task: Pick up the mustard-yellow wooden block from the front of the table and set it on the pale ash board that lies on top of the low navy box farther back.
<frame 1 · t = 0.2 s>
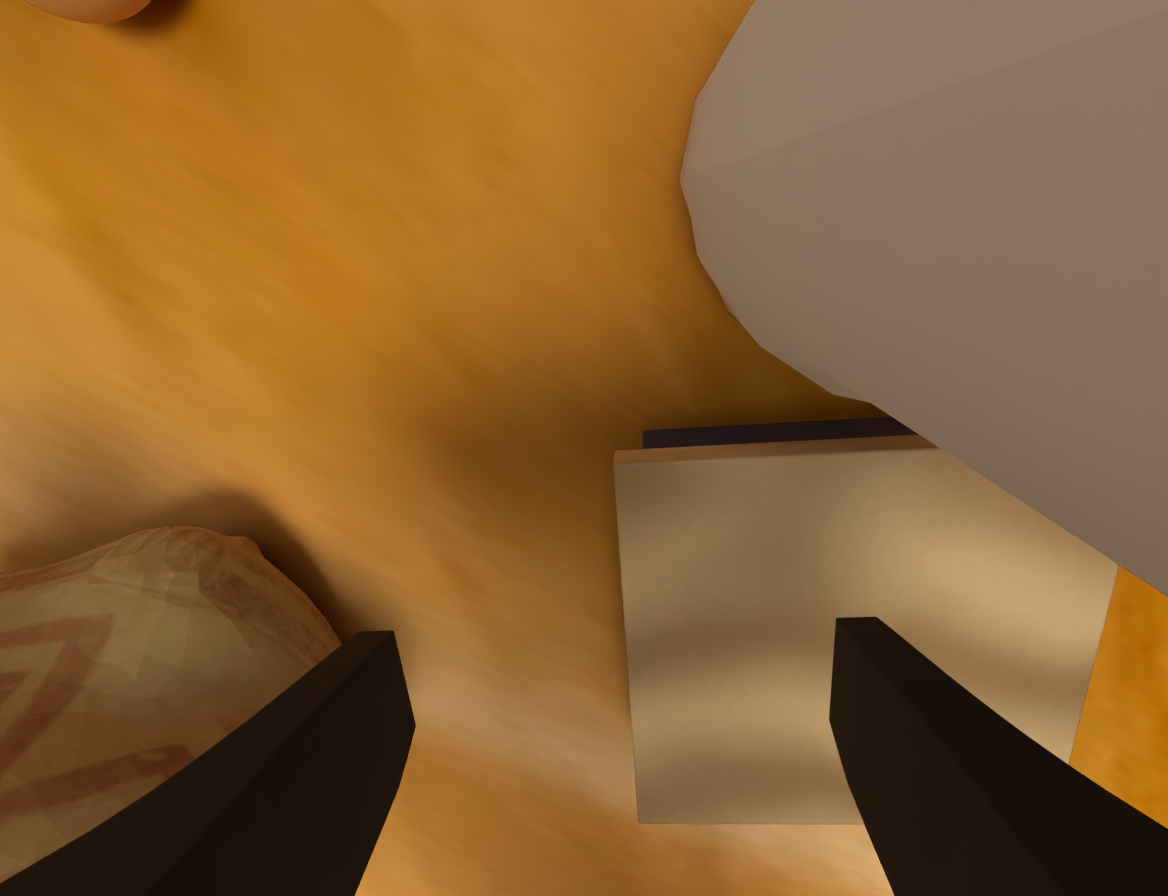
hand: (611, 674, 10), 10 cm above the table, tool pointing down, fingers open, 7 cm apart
ceramic vessel: (210, 676, 24), on the table
box: (808, 570, 21), on the table
bottle: (846, 176, 17), on the table
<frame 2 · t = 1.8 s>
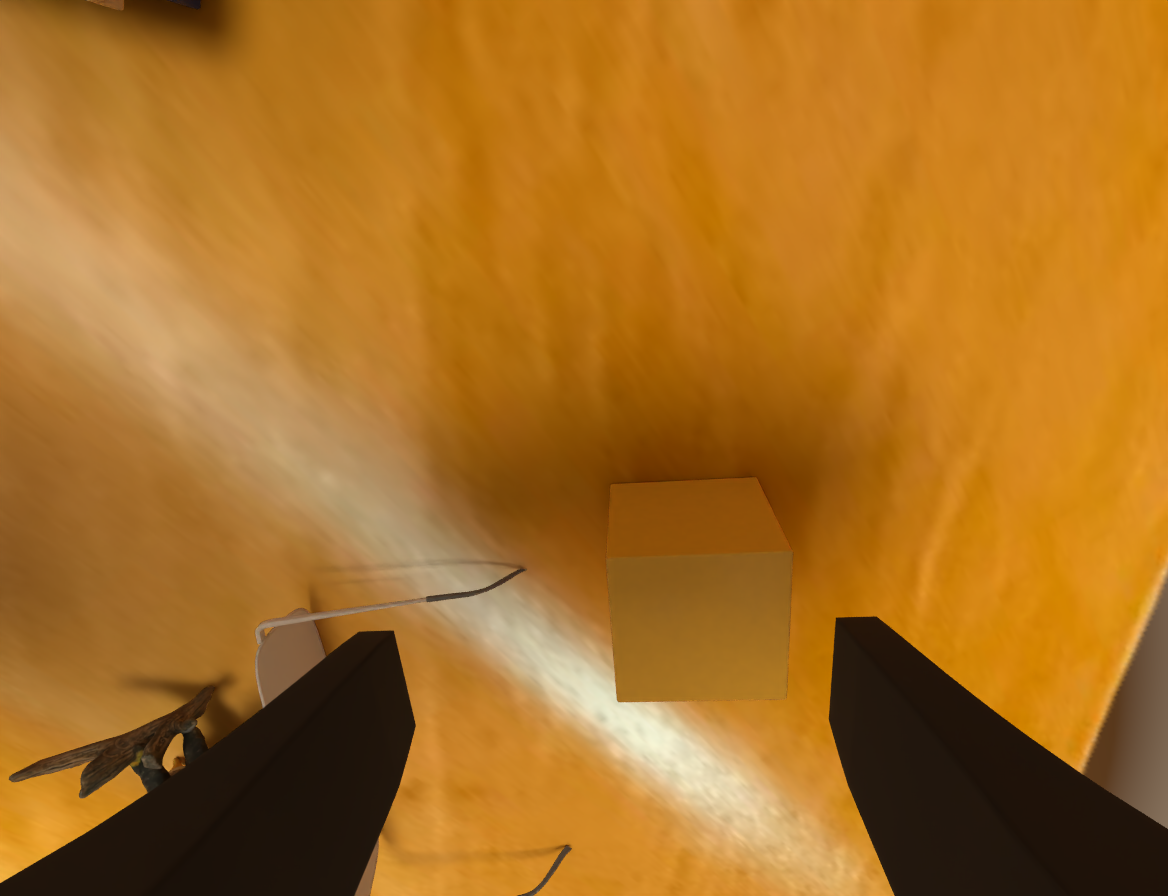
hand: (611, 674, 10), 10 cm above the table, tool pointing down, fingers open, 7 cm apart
eyeglasses: (448, 720, 24), on the table
eagle figurine: (232, 761, 25), on the table
block: (684, 543, 20), on the table
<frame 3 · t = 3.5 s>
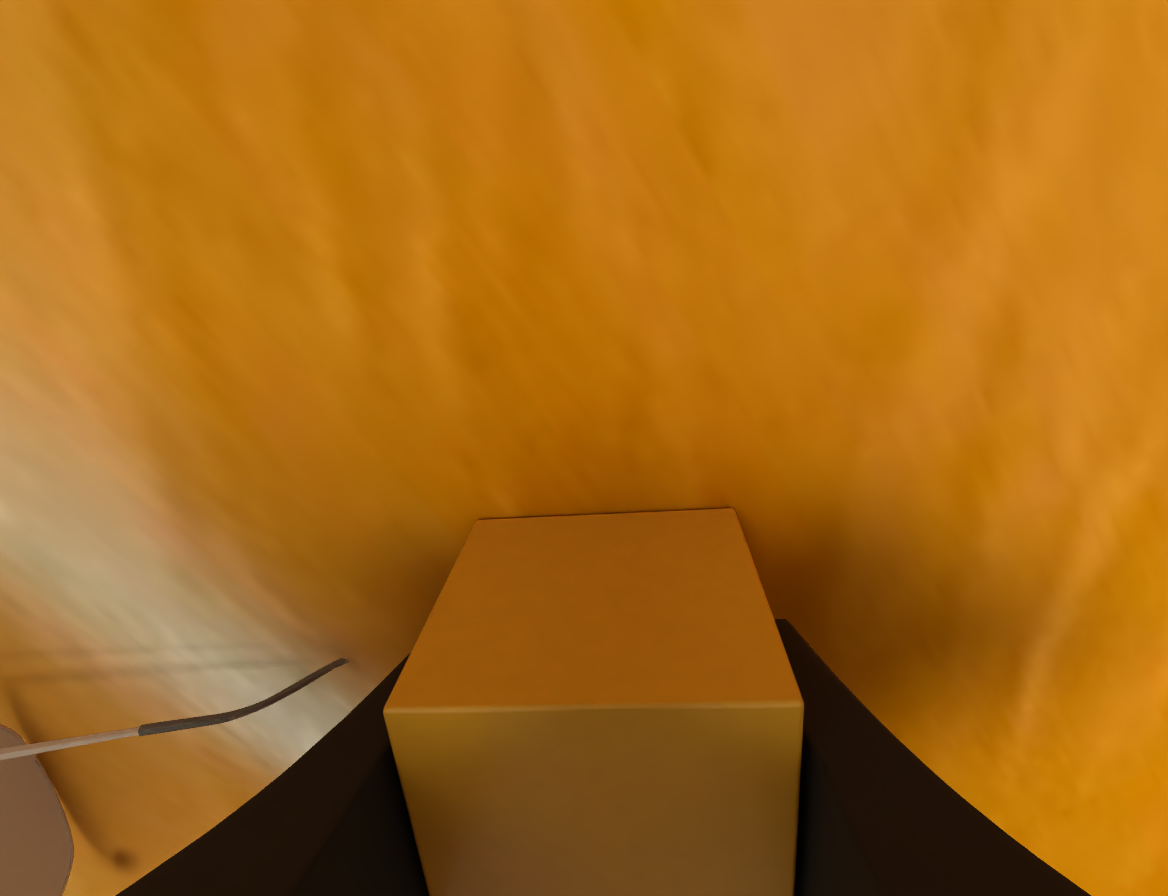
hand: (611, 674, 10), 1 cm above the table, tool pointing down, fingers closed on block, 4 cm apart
eyeglasses: (265, 879, 15), on the table
block: (611, 621, 12), on the table, touching gripper
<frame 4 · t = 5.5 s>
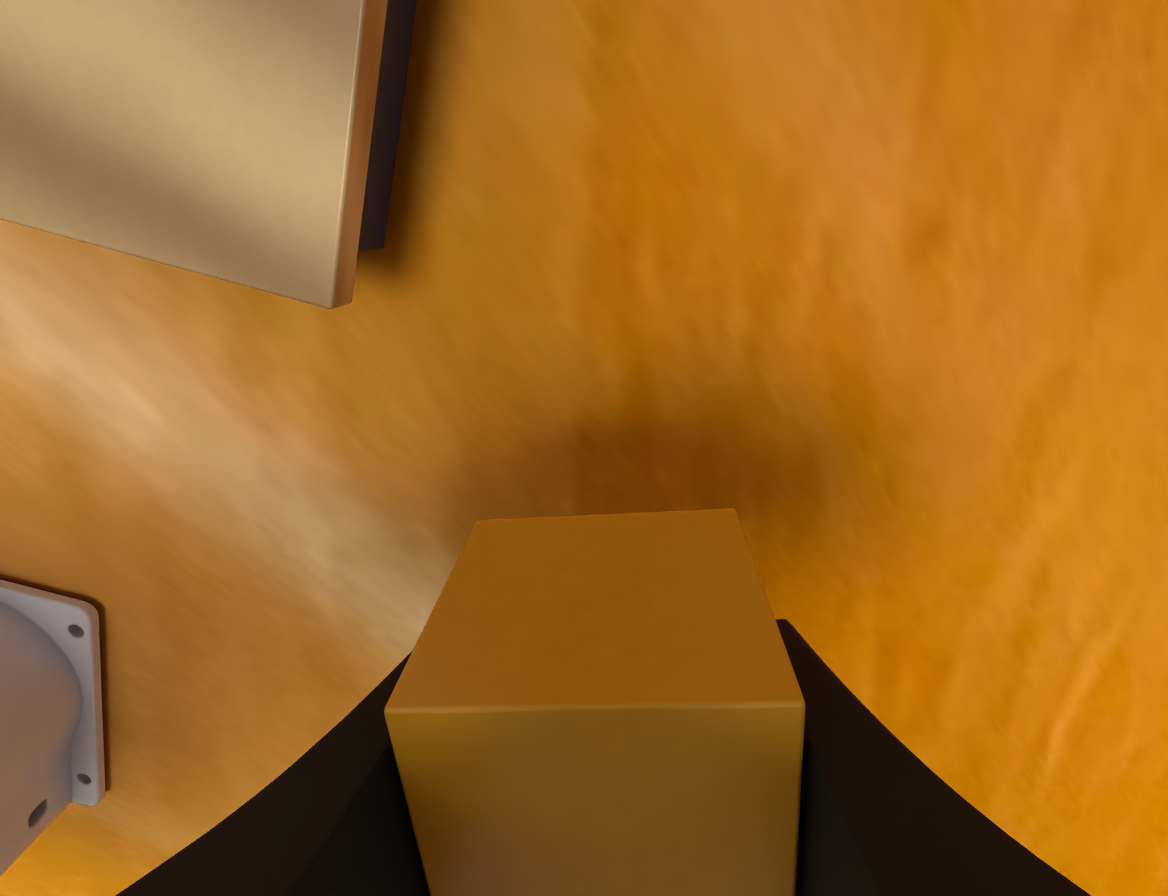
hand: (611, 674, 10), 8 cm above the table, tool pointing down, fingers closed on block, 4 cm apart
block: (612, 621, 12), point 7 cm above the table, touching gripper
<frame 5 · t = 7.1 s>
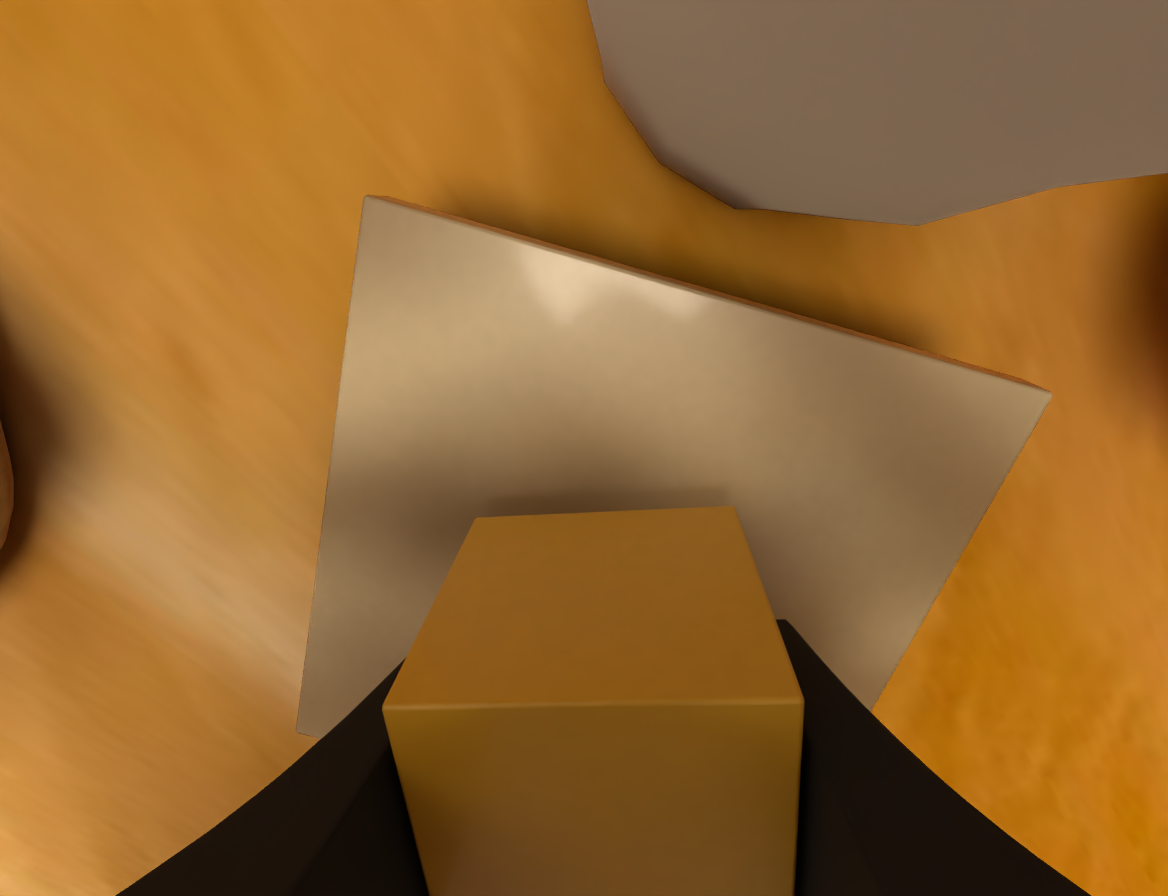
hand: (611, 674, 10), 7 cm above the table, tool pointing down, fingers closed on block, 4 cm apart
block: (611, 619, 11), point 6 cm above the table, touching gripper
box: (618, 494, 17), on the table
when the fingers open (6 cm above the table, at t = 7.9 s): block stays where it is, resting on box.
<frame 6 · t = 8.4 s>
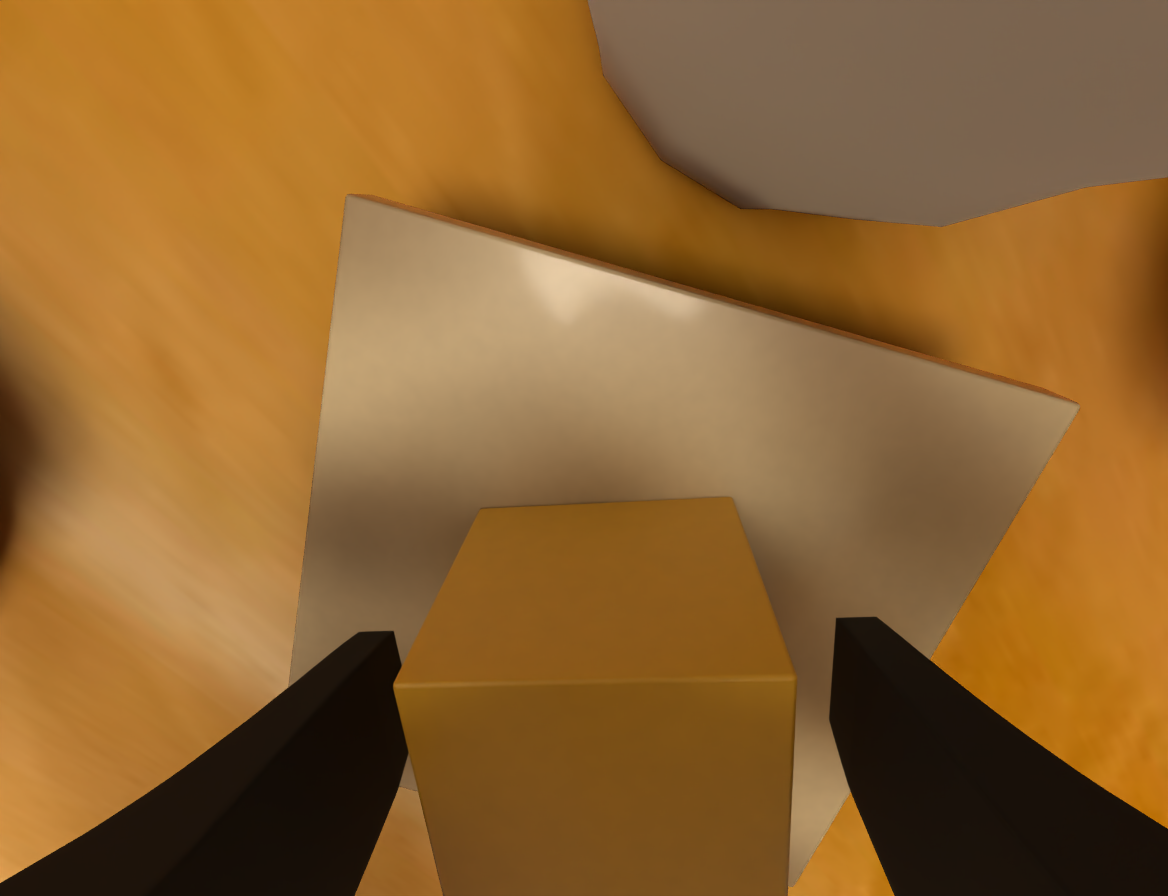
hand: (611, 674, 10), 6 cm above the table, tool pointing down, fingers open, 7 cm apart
block: (612, 608, 12), point 4 cm above the table, touching box
box: (618, 505, 16), on the table
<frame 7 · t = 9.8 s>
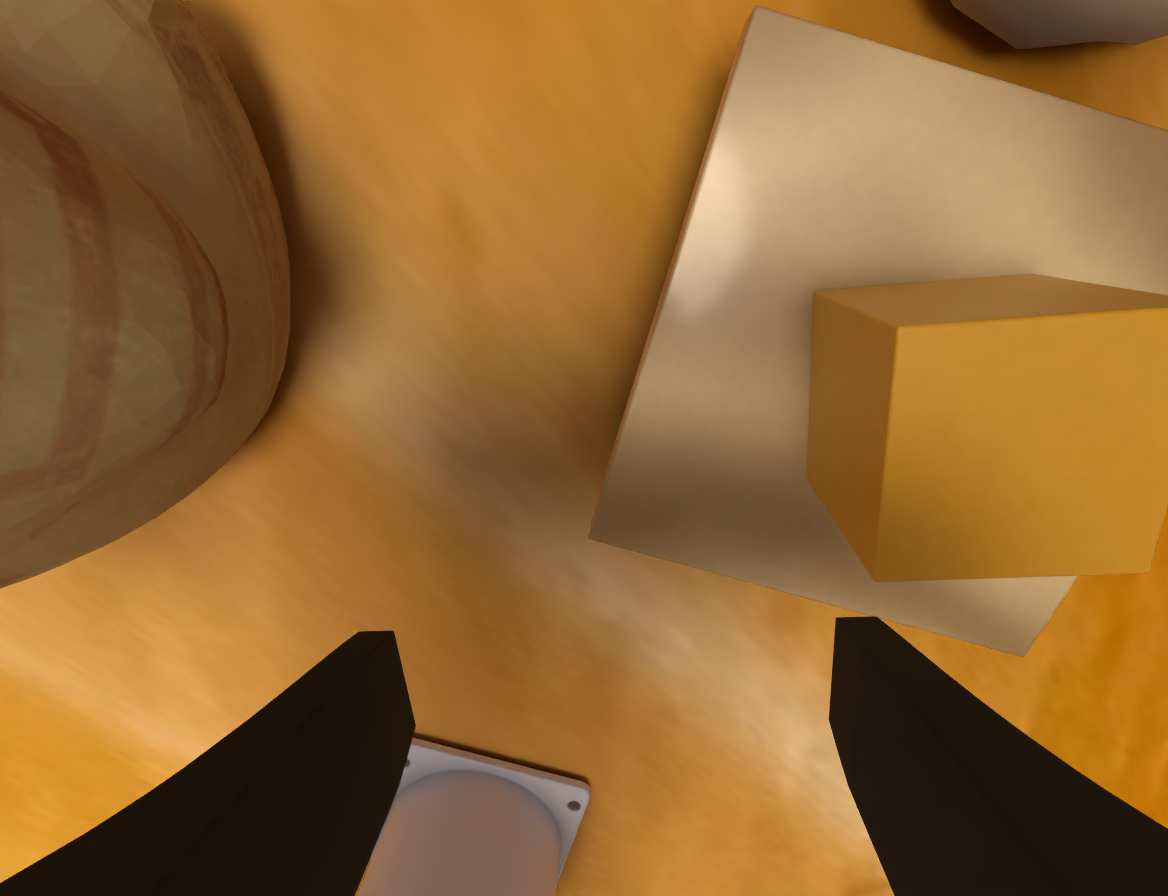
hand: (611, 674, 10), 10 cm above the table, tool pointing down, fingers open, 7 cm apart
block: (911, 383, 14), point 4 cm above the table, touching box
ceramic vessel: (98, 269, 19), on the table
box: (847, 345, 18), on the table
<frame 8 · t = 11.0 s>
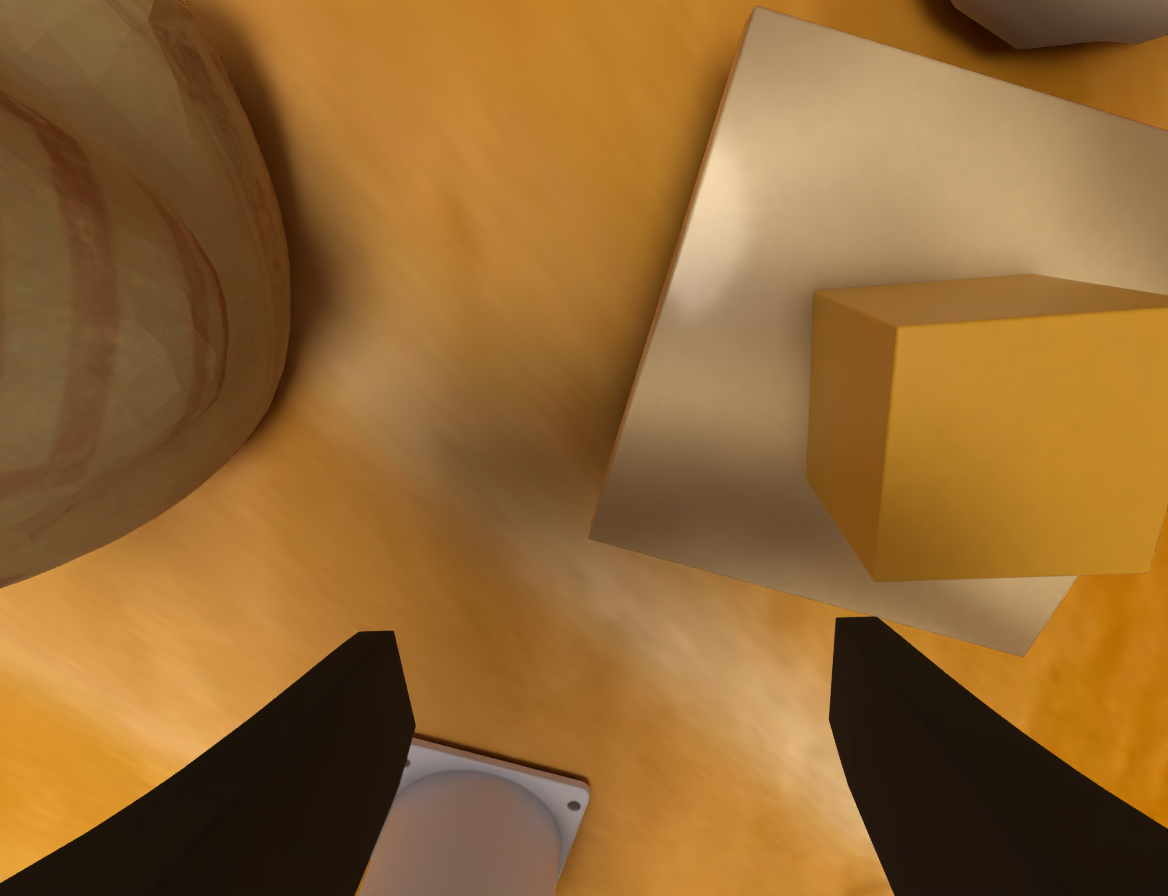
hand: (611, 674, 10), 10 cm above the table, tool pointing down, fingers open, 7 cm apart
block: (911, 383, 14), point 4 cm above the table, touching box
ceramic vessel: (98, 269, 19), on the table
box: (847, 345, 18), on the table
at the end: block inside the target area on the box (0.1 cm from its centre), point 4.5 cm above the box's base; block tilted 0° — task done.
